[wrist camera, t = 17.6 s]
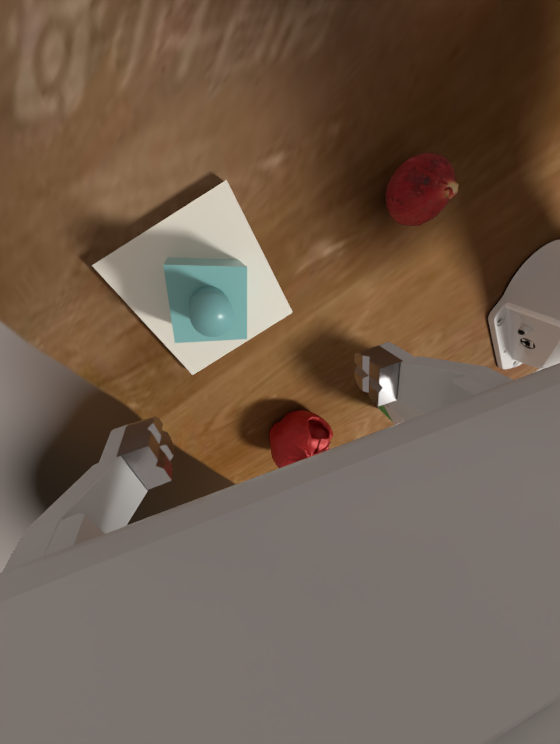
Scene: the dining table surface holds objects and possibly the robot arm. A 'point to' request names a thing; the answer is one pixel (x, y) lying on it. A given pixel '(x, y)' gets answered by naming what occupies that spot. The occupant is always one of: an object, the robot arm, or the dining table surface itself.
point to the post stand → (195, 240)
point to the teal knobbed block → (207, 299)
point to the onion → (420, 189)
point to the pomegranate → (299, 437)
